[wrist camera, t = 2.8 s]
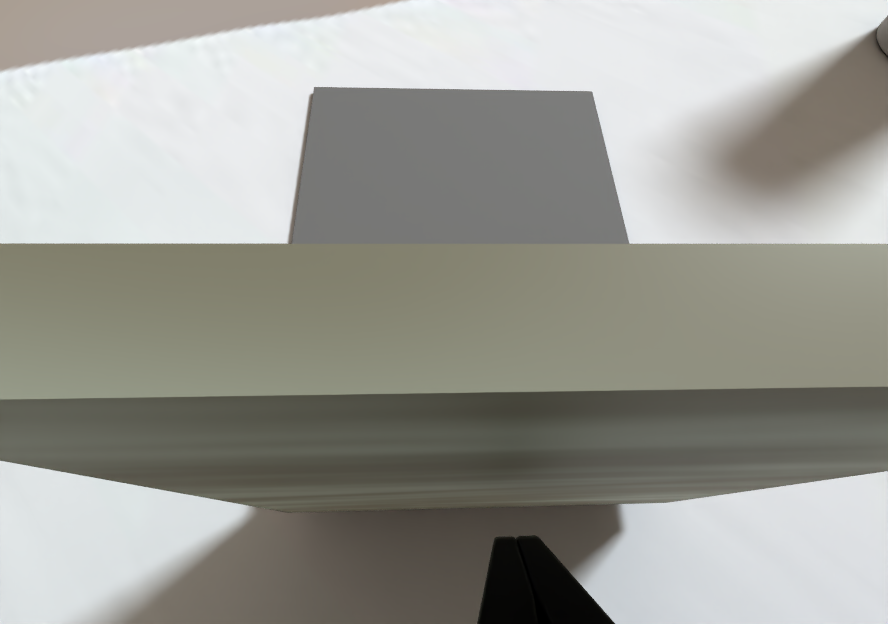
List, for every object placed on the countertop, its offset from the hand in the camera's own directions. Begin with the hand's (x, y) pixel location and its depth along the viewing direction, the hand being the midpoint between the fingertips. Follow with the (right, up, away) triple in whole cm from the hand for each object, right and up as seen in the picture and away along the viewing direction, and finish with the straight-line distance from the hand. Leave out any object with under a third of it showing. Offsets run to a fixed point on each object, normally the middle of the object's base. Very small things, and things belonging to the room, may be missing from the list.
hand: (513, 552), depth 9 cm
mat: (-1, +11, +15) cm, 18 cm away
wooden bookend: (0, +3, +10) cm, 11 cm away
